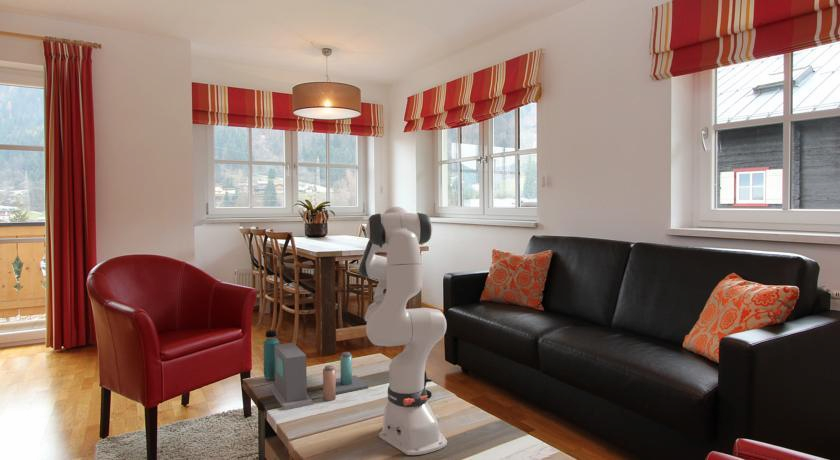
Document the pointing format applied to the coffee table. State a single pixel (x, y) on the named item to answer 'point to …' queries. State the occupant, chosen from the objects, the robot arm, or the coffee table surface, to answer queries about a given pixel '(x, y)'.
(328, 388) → the terracotta cartridge
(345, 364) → the cylinder
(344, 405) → the coffee table surface
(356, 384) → the pad
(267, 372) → the beverage bottle
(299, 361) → the block
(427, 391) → the webcam
